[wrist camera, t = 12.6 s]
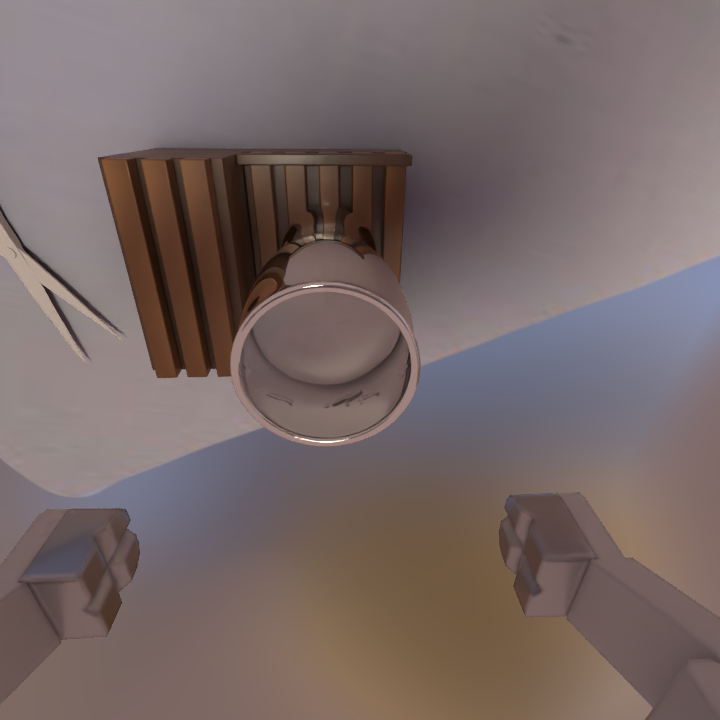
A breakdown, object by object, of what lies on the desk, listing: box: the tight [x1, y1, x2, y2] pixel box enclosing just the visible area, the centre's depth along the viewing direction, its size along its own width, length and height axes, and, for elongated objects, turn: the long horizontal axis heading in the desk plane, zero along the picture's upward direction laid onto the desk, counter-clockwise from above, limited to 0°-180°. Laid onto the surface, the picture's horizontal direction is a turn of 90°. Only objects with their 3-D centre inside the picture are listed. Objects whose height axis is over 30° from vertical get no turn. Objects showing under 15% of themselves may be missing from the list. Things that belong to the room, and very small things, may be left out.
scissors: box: [0, 211, 123, 366], centre depth 30 cm, size 11×1×20 cm
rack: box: [98, 148, 412, 378], centre depth 27 cm, size 16×12×9 cm
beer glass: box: [230, 206, 421, 446], centre depth 21 cm, size 7×7×15 cm
